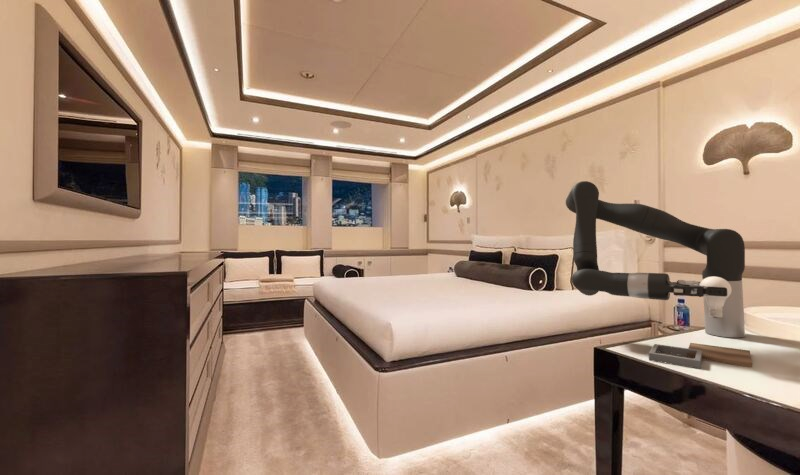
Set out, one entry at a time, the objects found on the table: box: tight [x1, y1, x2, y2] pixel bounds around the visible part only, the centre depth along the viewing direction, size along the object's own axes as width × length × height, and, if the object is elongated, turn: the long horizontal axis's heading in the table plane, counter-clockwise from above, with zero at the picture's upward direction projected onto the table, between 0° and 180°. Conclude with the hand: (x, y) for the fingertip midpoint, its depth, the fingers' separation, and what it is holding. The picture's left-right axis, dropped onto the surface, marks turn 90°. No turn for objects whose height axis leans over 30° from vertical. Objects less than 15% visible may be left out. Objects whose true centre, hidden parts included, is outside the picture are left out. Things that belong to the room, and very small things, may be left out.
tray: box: [648, 343, 703, 369], centre depth 90 cm, size 10×10×2 cm
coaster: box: [686, 342, 753, 368], centre depth 91 cm, size 12×12×1 cm
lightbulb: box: [699, 276, 732, 319], centre depth 91 cm, size 6×6×11 cm
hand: (727, 290), depth 89 cm, fingers closed on lightbulb, 6 cm apart
